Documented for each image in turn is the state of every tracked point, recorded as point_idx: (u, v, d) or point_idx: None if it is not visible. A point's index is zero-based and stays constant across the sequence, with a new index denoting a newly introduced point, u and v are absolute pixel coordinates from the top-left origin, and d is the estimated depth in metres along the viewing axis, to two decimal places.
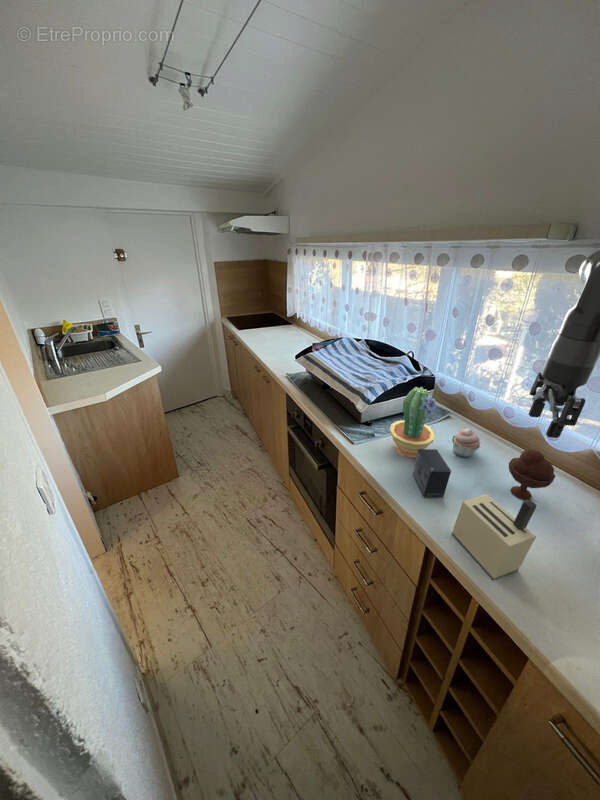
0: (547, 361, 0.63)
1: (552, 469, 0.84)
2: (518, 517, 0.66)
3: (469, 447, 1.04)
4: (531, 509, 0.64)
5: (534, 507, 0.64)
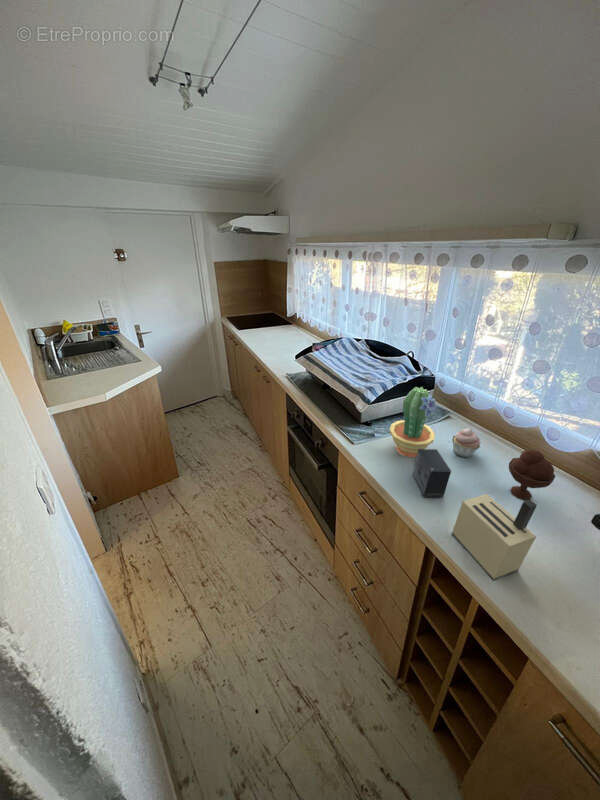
0: None
1: (552, 469, 0.84)
2: (518, 517, 0.66)
3: (469, 447, 1.04)
4: (531, 509, 0.64)
5: (534, 507, 0.64)
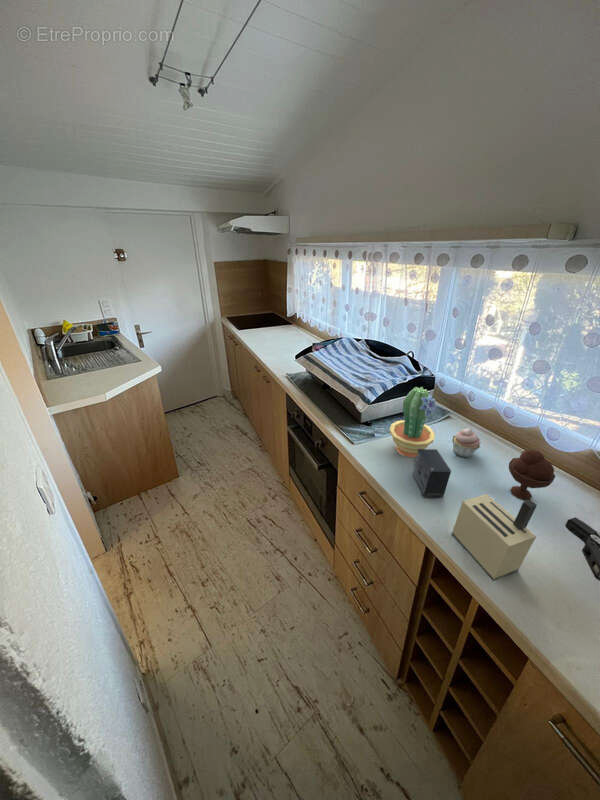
0: None
1: (552, 469, 0.84)
2: (518, 517, 0.66)
3: (469, 447, 1.04)
4: (531, 509, 0.64)
5: (534, 507, 0.64)
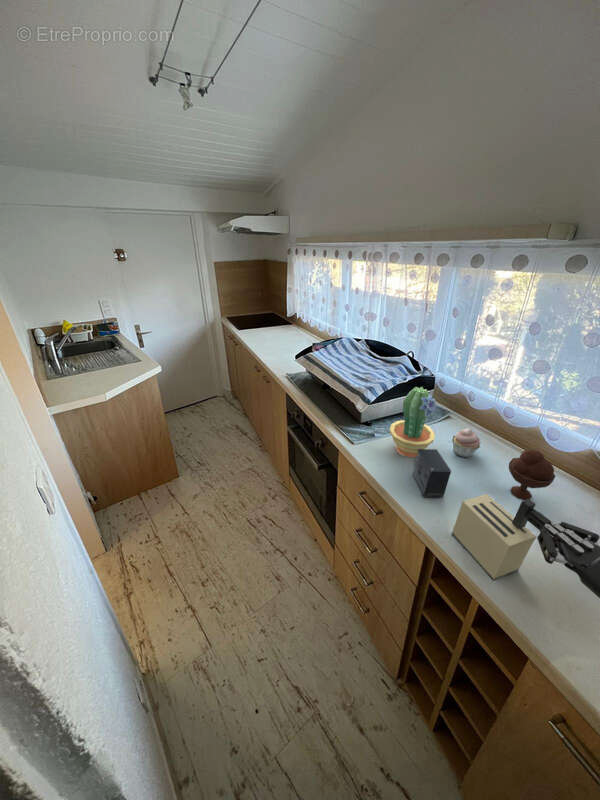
0: None
1: (552, 469, 0.84)
2: (517, 516, 0.67)
3: (469, 447, 1.04)
4: (530, 508, 0.64)
5: (533, 506, 0.64)
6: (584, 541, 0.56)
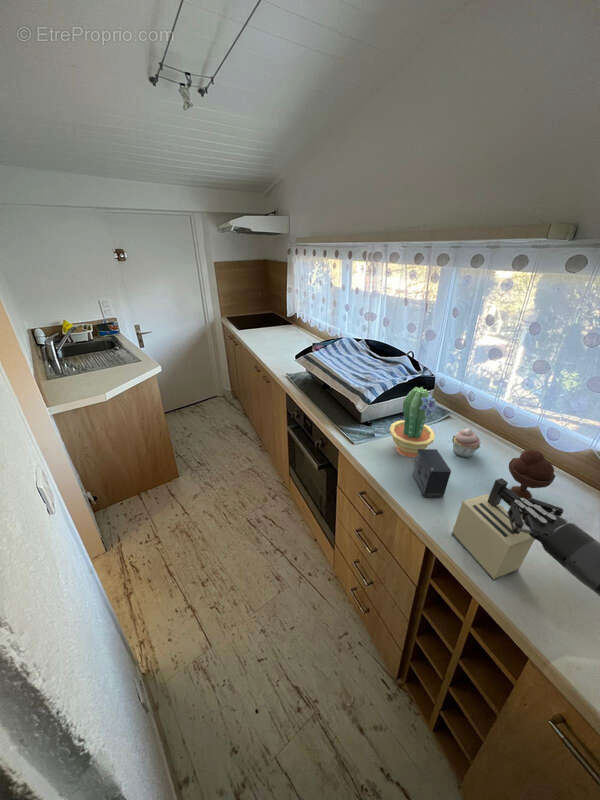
0: None
1: (552, 469, 0.84)
2: (491, 494, 0.72)
3: (469, 447, 1.04)
4: (502, 486, 0.70)
5: (505, 484, 0.70)
6: (548, 514, 0.62)
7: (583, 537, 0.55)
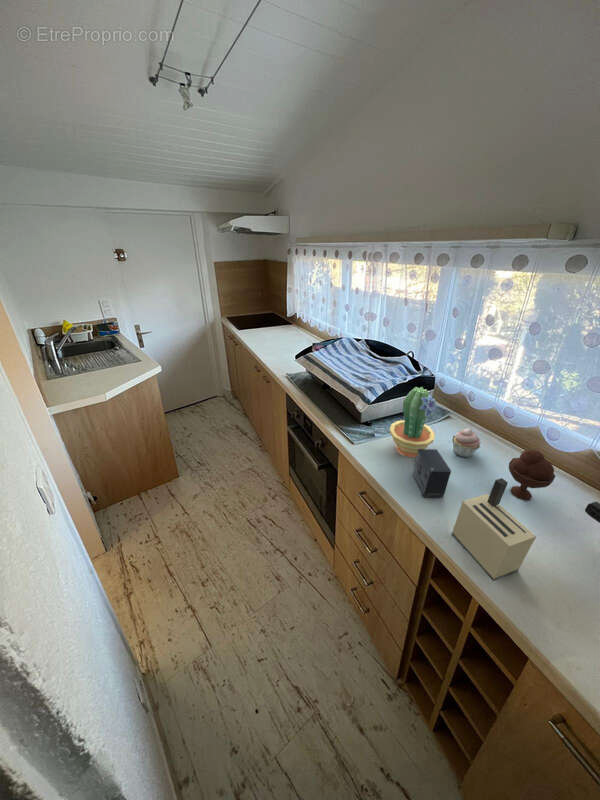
0: None
1: (552, 469, 0.84)
2: (491, 494, 0.72)
3: (469, 447, 1.04)
4: (502, 486, 0.70)
5: (505, 484, 0.70)
6: None
7: None
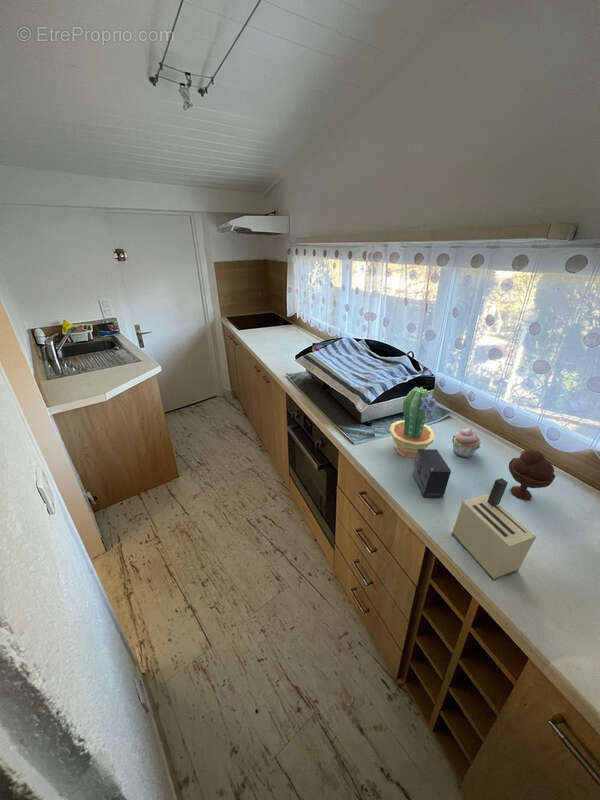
0: None
1: (552, 469, 0.84)
2: (491, 494, 0.72)
3: (469, 447, 1.04)
4: (502, 486, 0.70)
5: (505, 484, 0.70)
6: None
7: None
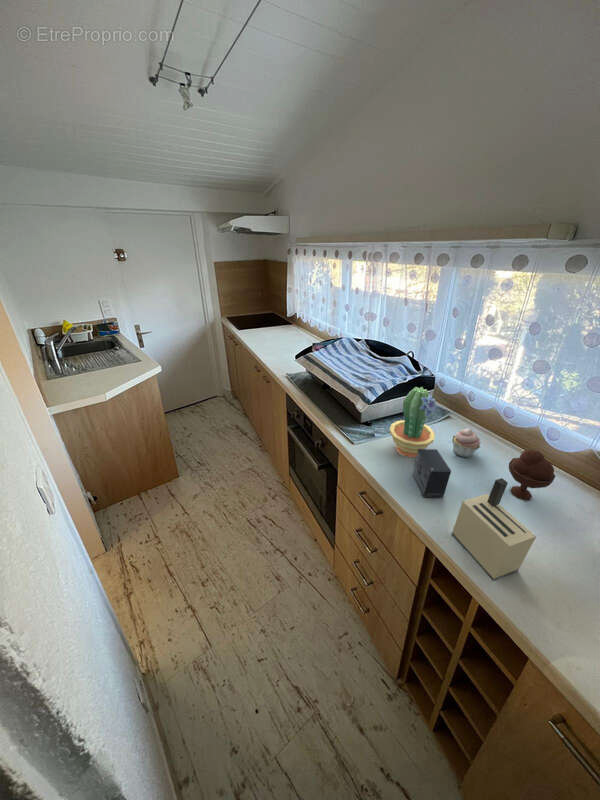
0: None
1: (552, 469, 0.84)
2: (491, 494, 0.72)
3: (469, 447, 1.04)
4: (502, 486, 0.70)
5: (505, 484, 0.70)
6: None
7: None
